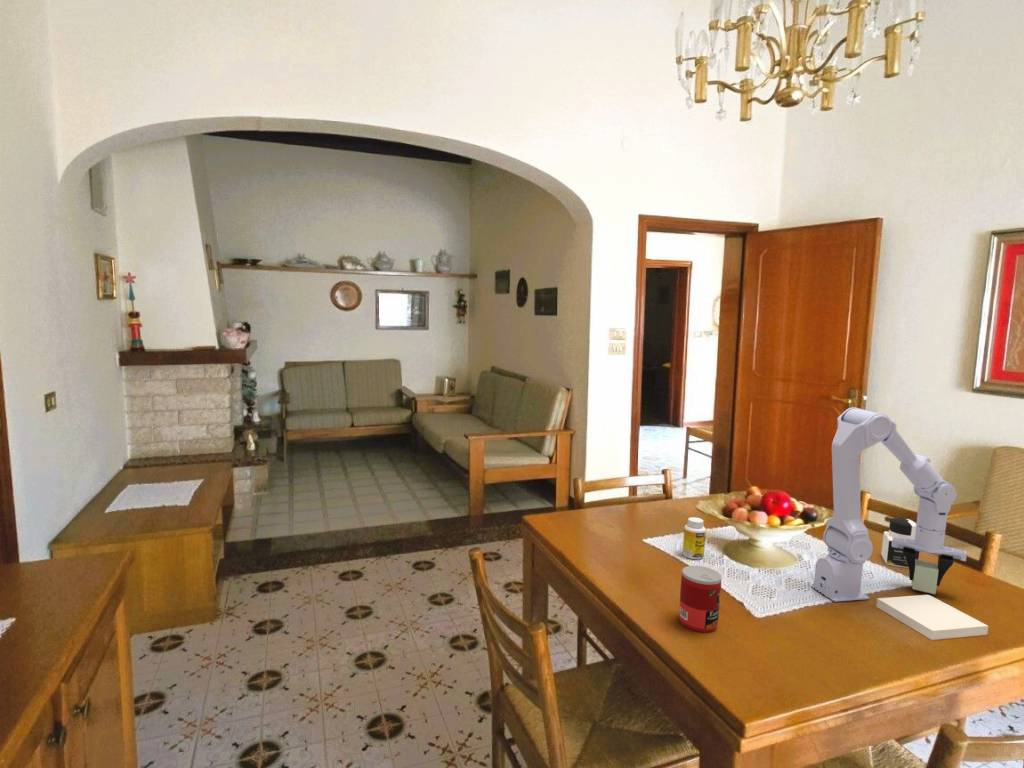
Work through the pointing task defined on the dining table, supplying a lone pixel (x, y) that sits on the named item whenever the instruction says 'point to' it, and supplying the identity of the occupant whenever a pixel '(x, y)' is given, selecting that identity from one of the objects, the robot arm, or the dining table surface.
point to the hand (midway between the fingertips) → (924, 581)
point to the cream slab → (931, 617)
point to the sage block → (925, 576)
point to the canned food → (700, 598)
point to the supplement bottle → (694, 538)
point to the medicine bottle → (898, 530)
